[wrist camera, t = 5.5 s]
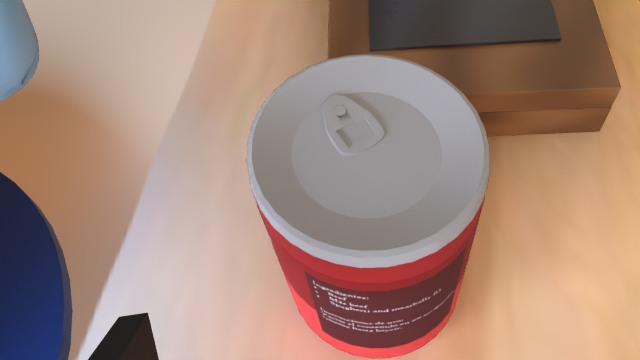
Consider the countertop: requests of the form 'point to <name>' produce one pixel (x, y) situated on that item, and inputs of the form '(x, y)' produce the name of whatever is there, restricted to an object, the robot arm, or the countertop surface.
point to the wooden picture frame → (494, 55)
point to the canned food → (370, 197)
